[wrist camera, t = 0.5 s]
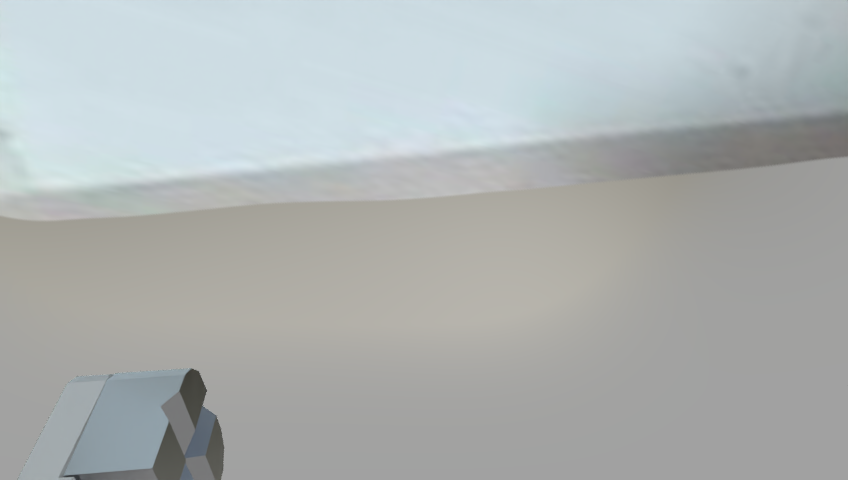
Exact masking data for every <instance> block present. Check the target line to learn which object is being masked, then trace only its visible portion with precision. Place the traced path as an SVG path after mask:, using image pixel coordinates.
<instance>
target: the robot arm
mask: <svg viewBox="0 0 848 480" xmlns="http://www.w3.org/2000/svg"><path fill="white" fill-rule="evenodd" d="M206 392H207V390H206V387H205V385H204V382H203V380H202V378H201V375H200V373H199V371H197V370H194V369H191V368H189V369H173V370H158V371H142V372H127V373H115V374H110V375H93V376H77V377H75V378H74V379H73V380H71V381H70V382H68V383H67V385H66V386H65V388H64V390H63V392H62V394H61V396H60V398H59V400H58V401H57V403H56V405H55V407H54V409H53V411H52V413H51V415H50V417H49V419H48V421H47V423H46V425H45V427H44V429H43V430H42V432H41V434H40V436H39V438H38V440H37V442H36V444H35V446H34V448H33V450H32V452H31V454H30V456H29V458H28V459H27V461H26V464H25V465H24V467H23V469H22V471H21V473H20V475H19V477H18V479H17V480H221V476H222V473H223V458H224V445H223V438H222V432H221V428H220V425H219V422H218V419H217V416H216V415H215V414H213V413H212V412H210V411H209V410H208V409H206V408H205V407H203V406H202V405H203V402H204V398H205V395H206Z"/></svg>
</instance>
